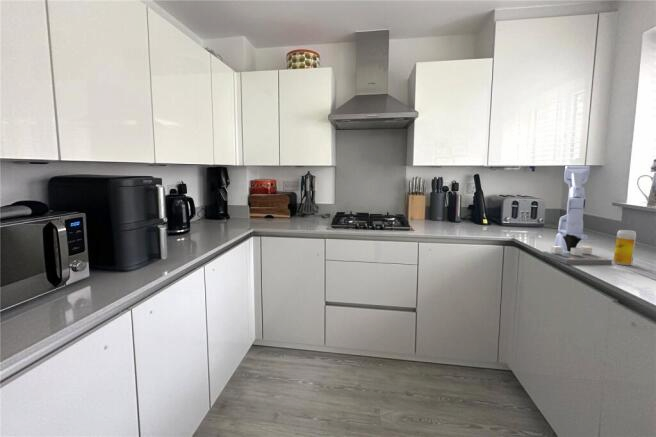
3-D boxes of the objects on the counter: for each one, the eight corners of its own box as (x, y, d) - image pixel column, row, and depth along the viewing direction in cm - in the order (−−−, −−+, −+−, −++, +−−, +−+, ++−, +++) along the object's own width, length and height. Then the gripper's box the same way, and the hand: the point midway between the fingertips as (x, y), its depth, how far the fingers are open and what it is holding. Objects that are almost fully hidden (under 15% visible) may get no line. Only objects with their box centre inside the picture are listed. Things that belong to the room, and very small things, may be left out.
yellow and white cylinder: (613, 261, 141) (617, 229, 139) (631, 263, 137) (636, 230, 135) (613, 263, 137) (617, 230, 135) (632, 266, 133) (637, 232, 131)
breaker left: (550, 252, 147) (551, 246, 147) (558, 252, 147) (558, 246, 147) (554, 253, 145) (555, 247, 144) (562, 253, 145) (562, 247, 144)
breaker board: (542, 255, 151) (543, 251, 150) (583, 255, 151) (583, 251, 151) (566, 264, 136) (567, 259, 136) (611, 264, 136) (612, 260, 136)
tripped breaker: (570, 253, 144) (570, 247, 144) (577, 253, 144) (578, 247, 144) (574, 255, 142) (575, 248, 141) (582, 255, 142) (582, 248, 141)
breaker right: (579, 252, 147) (580, 246, 147) (587, 252, 147) (588, 246, 147) (583, 253, 145) (584, 247, 144) (591, 253, 145) (592, 247, 144)
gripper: (554, 220, 151) (551, 247, 153) (578, 225, 137) (574, 255, 139) (568, 220, 151) (565, 247, 153) (593, 225, 137) (589, 255, 139)
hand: (570, 251), depth 146 cm, fingers closed
